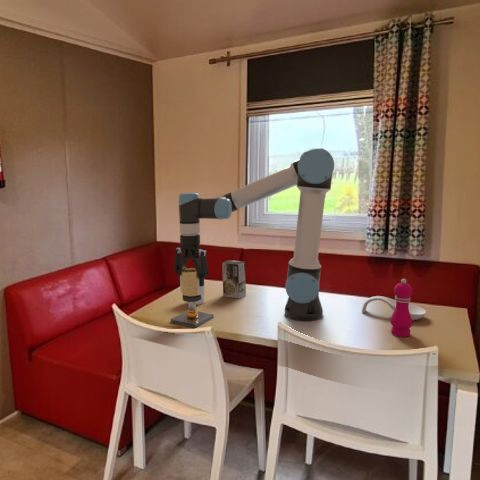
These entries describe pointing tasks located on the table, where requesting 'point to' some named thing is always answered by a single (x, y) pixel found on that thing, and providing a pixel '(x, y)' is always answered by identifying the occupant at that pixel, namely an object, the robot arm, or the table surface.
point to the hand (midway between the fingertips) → (191, 292)
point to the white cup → (202, 296)
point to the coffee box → (234, 279)
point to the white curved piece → (413, 310)
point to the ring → (192, 298)
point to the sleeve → (189, 281)
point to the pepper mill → (402, 310)
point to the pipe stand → (192, 316)
